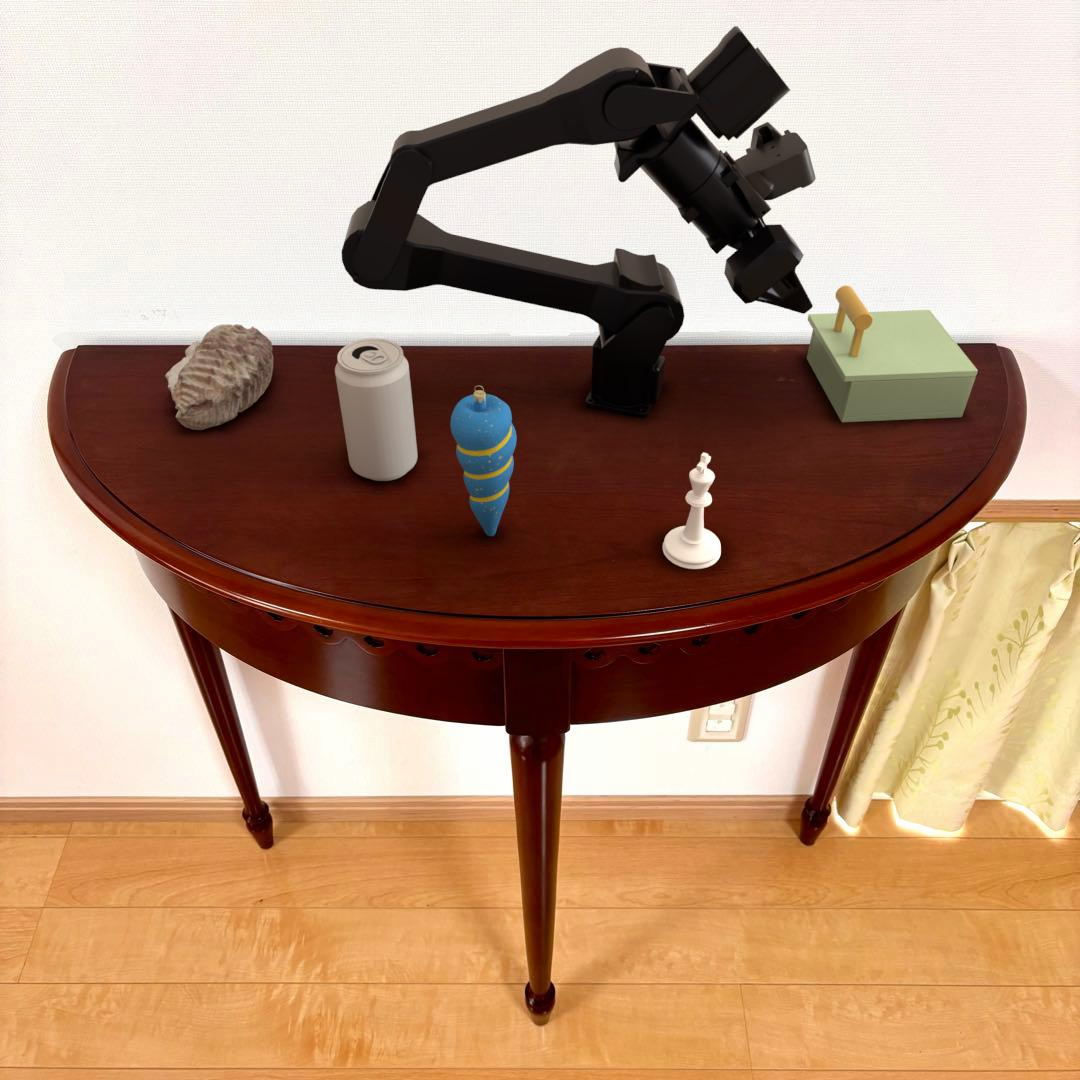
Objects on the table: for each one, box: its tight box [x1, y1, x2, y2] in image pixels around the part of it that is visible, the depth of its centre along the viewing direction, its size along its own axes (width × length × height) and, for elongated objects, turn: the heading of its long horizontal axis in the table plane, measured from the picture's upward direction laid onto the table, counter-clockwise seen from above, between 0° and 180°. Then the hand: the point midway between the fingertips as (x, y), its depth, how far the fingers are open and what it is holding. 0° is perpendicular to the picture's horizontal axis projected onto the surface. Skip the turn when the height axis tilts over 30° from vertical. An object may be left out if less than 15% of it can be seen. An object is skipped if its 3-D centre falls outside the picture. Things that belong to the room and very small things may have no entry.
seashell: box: [164, 323, 274, 431], centre depth 97 cm, size 14×9×10 cm
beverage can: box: [334, 337, 419, 482], centre depth 87 cm, size 6×6×12 cm
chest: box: [806, 329, 977, 423], centre depth 99 cm, size 12×12×5 cm
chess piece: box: [662, 452, 722, 570], centre depth 78 cm, size 5×5×10 cm
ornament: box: [449, 385, 518, 537], centre depth 78 cm, size 5×5×15 cm
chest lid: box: [807, 285, 979, 382], centre depth 96 cm, size 13×12×6 cm
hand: (794, 286), depth 92 cm, fingers open, 9 cm apart
